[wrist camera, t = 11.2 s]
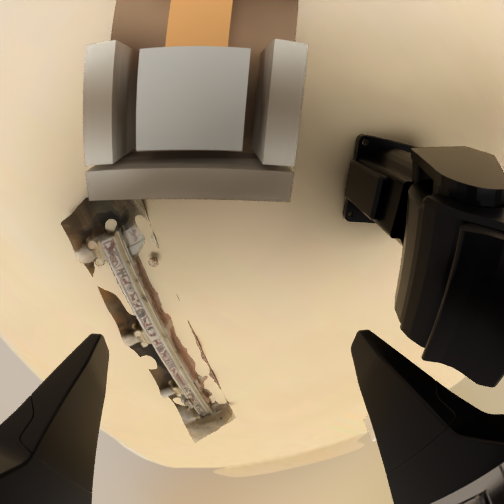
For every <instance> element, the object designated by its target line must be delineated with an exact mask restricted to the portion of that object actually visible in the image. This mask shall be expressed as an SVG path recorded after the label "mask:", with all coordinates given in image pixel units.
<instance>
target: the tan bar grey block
mask: <svg viewBox="0 0 504 504" xmlns="http://www.w3.org/2000/svg"><path fill="white" fill-rule="evenodd" d="M232 3H233V0H171V3H170V10H169V18H168V26H167V34H166V44H165V47H157V48H144V49H140V53H139V64H138V79H137V101H136V151H144V150H229V151H242V145H243V133H244V120H245V108H246V97H247V85H248V74H249V63H250V52H251V48H239V47H228V40H229V30H230V20H231V11H232Z"/></svg>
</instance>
